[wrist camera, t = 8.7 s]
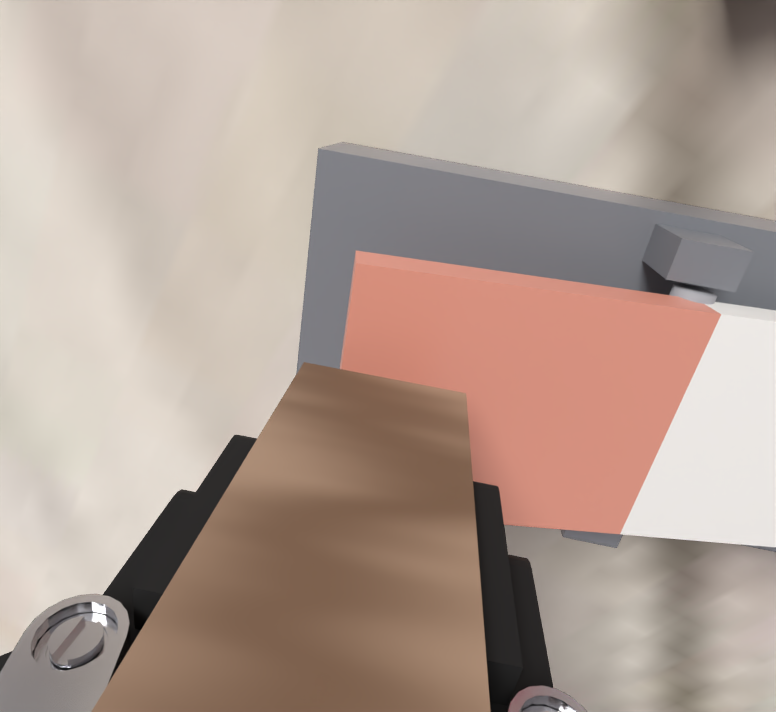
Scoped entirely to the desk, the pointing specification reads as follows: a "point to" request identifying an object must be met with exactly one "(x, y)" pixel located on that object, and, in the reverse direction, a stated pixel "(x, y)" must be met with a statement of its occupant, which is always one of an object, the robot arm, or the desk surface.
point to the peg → (328, 566)
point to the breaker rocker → (587, 394)
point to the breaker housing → (515, 239)
